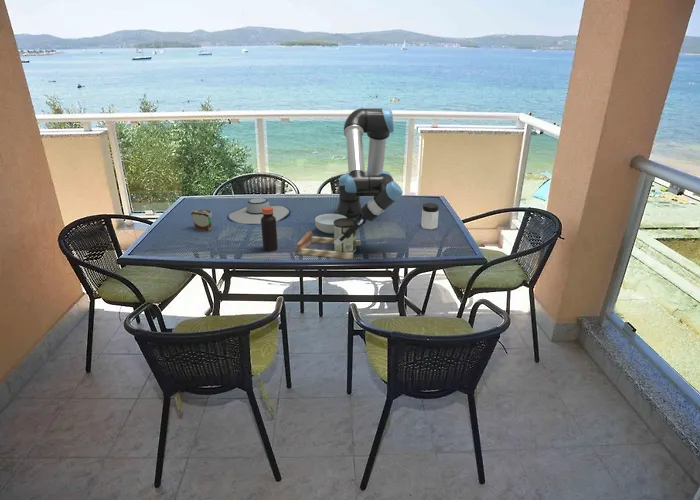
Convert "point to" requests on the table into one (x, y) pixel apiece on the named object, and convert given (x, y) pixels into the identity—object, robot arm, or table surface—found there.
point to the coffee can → (343, 226)
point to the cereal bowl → (327, 222)
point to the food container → (202, 219)
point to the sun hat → (257, 212)
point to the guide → (307, 241)
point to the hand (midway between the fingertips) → (338, 239)
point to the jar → (430, 216)
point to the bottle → (269, 229)
